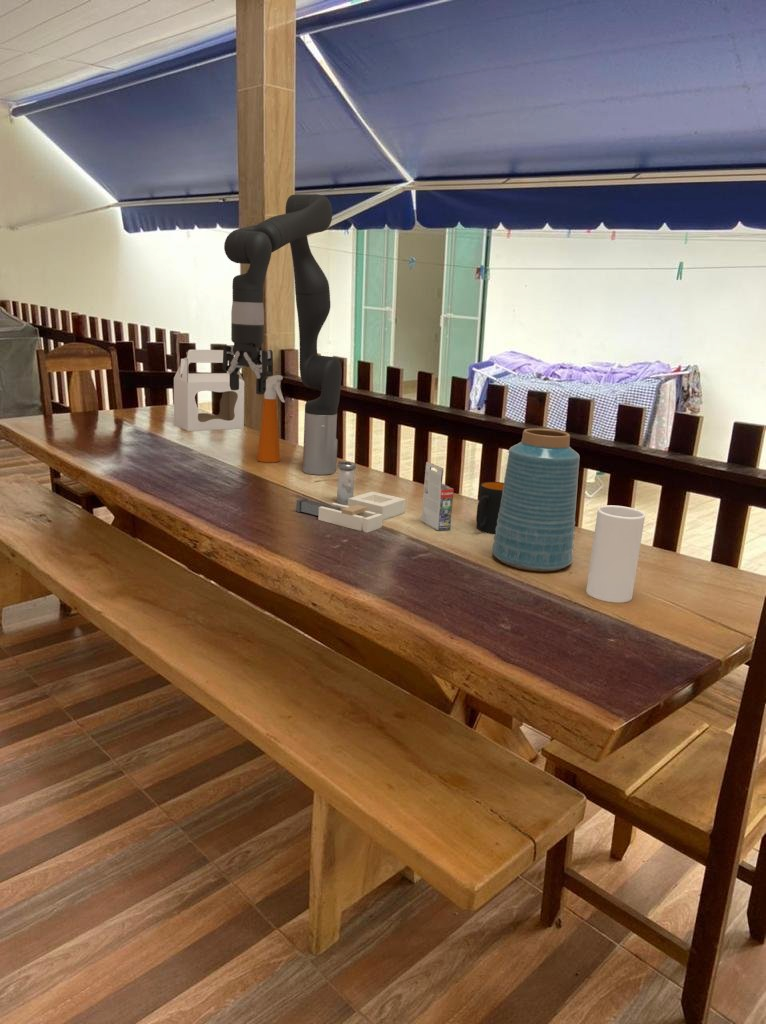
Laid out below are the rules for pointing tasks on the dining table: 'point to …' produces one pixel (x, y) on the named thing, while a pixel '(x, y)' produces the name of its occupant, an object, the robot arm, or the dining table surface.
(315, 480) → the dining table surface
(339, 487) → the salt shaker
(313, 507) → the pin
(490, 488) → the mug
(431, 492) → the ink box
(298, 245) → the robot arm
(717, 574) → the dining table surface
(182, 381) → the gable box
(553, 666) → the dining table surface
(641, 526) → the cup
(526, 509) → the vase
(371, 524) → the pin guide
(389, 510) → the socket block
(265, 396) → the spray bottle
